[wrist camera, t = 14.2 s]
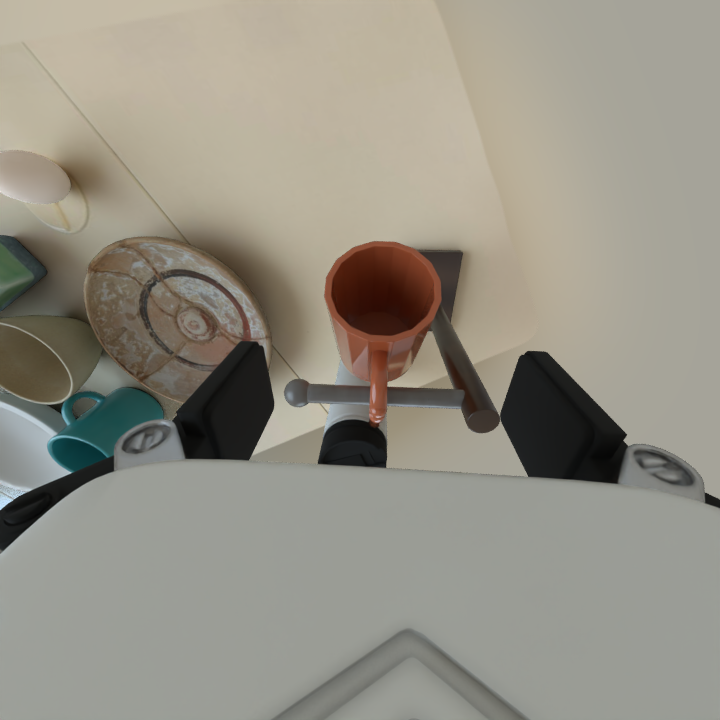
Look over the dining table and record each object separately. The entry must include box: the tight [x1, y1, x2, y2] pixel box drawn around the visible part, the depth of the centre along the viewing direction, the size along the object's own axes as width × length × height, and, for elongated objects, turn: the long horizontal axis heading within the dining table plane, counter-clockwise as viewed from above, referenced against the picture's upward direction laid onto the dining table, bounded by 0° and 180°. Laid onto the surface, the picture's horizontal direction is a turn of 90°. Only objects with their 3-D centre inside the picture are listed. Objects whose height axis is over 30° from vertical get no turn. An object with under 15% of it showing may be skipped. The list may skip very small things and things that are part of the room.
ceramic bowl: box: [83, 237, 272, 404], centre depth 39 cm, size 23×24×5 cm
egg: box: [0, 150, 71, 204], centre depth 30 cm, size 5×5×7 cm
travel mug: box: [318, 360, 387, 468], centre depth 34 cm, size 6×7×20 cm
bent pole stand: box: [284, 250, 500, 433], centre depth 27 cm, size 10×15×24 cm, turn 90°
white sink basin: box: [0, 393, 71, 492], centre depth 50 cm, size 24×24×7 cm
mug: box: [324, 241, 442, 428], centre depth 21 cm, size 11×7×9 cm
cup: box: [47, 388, 164, 473], centre depth 45 cm, size 9×12×11 cm
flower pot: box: [0, 315, 102, 405], centre depth 40 cm, size 12×12×9 cm
